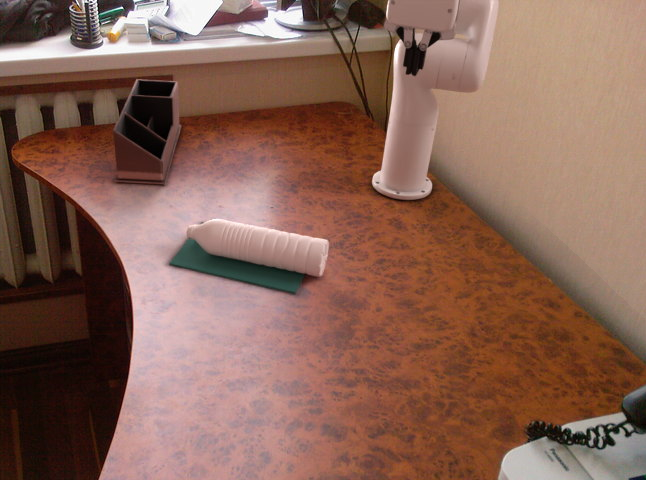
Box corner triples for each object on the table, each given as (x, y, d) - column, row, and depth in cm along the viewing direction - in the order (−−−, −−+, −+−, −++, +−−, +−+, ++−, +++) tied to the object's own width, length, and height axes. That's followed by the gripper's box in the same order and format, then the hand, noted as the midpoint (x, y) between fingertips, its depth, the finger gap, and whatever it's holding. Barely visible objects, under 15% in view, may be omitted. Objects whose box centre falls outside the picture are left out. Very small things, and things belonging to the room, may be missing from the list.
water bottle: (325, 240, 123) (184, 213, 128) (318, 279, 124) (178, 250, 129) (333, 238, 131) (200, 212, 136) (326, 274, 132) (194, 247, 137)
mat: (202, 223, 141) (202, 221, 140) (318, 249, 135) (318, 247, 135) (169, 264, 129) (169, 262, 129) (295, 294, 124) (295, 292, 124)
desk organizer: (181, 126, 175) (180, 80, 169) (165, 185, 152) (163, 134, 145) (137, 124, 175) (134, 77, 168) (114, 182, 152) (109, 131, 145)
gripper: (490, -55, 104) (464, 72, 116) (387, -68, 108) (371, 57, 119) (484, -44, 99) (457, 89, 110) (375, -58, 102) (359, 72, 113)
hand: (412, 72), depth 114 cm, fingers closed
